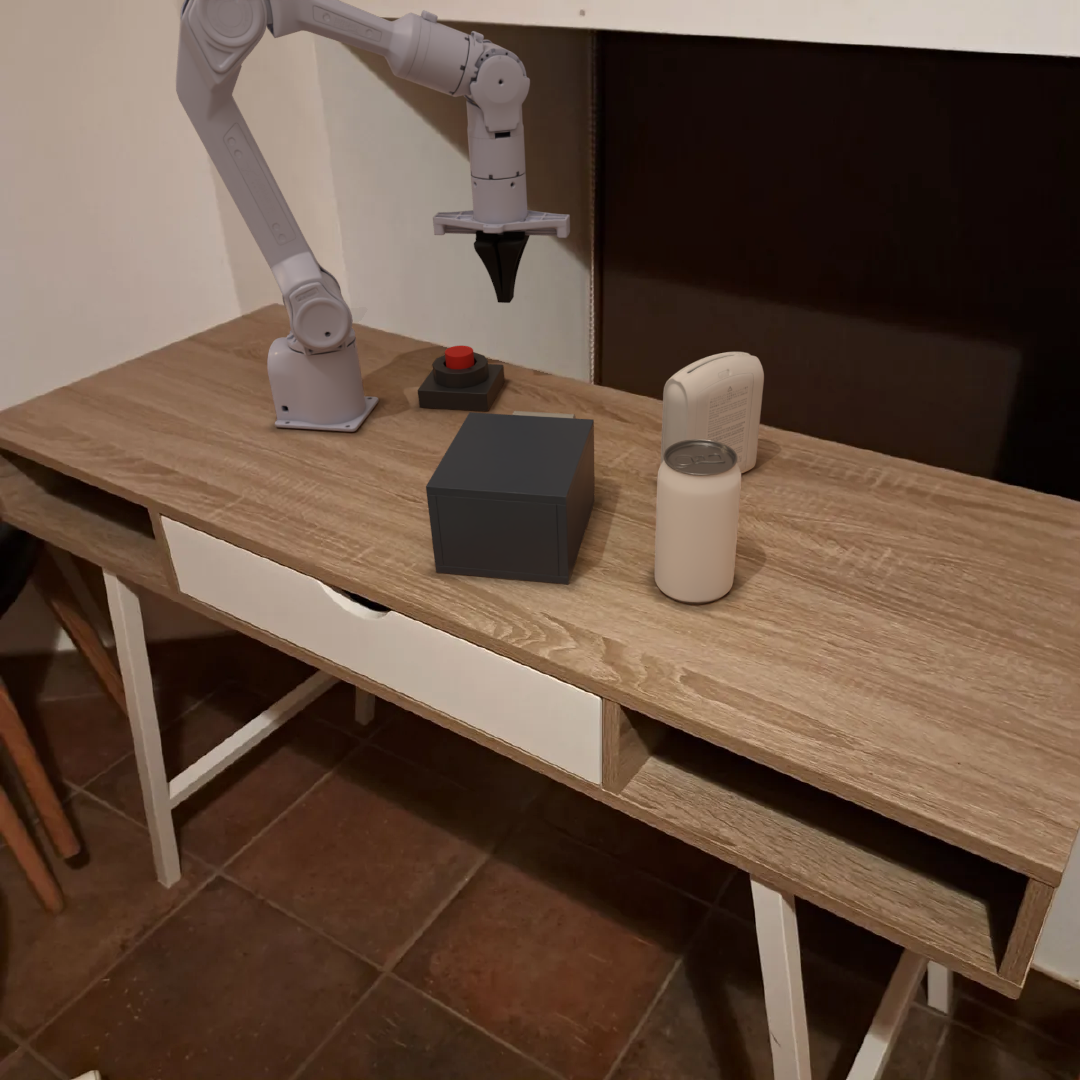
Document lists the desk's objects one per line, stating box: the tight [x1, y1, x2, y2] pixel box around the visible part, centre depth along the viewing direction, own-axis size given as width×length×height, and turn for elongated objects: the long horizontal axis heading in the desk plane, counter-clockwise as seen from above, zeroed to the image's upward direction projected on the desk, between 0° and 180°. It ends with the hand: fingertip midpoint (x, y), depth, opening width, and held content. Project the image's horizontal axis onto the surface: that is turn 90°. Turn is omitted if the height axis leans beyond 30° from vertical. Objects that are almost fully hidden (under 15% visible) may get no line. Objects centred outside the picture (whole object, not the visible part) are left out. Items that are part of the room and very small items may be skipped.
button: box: [444, 345, 474, 369], centre depth 114 cm, size 3×3×2 cm
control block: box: [417, 351, 505, 412], centre depth 115 cm, size 8×8×4 cm
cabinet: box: [425, 411, 596, 585], centre depth 89 cm, size 14×12×9 cm
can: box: [654, 439, 742, 605], centre depth 81 cm, size 6×6×12 cm
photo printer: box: [660, 351, 765, 474], centre depth 95 cm, size 10×4×12 cm, turn 123°
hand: (505, 299), depth 112 cm, fingers closed
